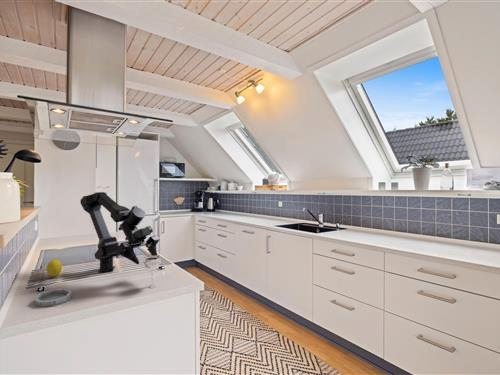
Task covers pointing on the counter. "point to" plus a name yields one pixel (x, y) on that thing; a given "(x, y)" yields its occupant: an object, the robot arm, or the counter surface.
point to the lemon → (54, 268)
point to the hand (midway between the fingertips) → (147, 261)
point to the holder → (52, 298)
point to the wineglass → (152, 266)
